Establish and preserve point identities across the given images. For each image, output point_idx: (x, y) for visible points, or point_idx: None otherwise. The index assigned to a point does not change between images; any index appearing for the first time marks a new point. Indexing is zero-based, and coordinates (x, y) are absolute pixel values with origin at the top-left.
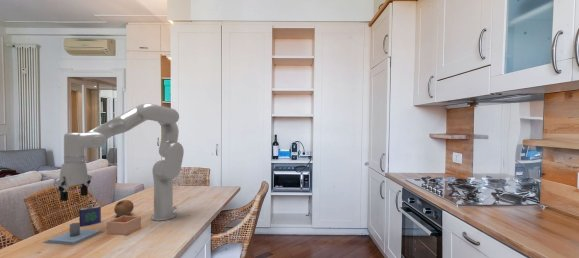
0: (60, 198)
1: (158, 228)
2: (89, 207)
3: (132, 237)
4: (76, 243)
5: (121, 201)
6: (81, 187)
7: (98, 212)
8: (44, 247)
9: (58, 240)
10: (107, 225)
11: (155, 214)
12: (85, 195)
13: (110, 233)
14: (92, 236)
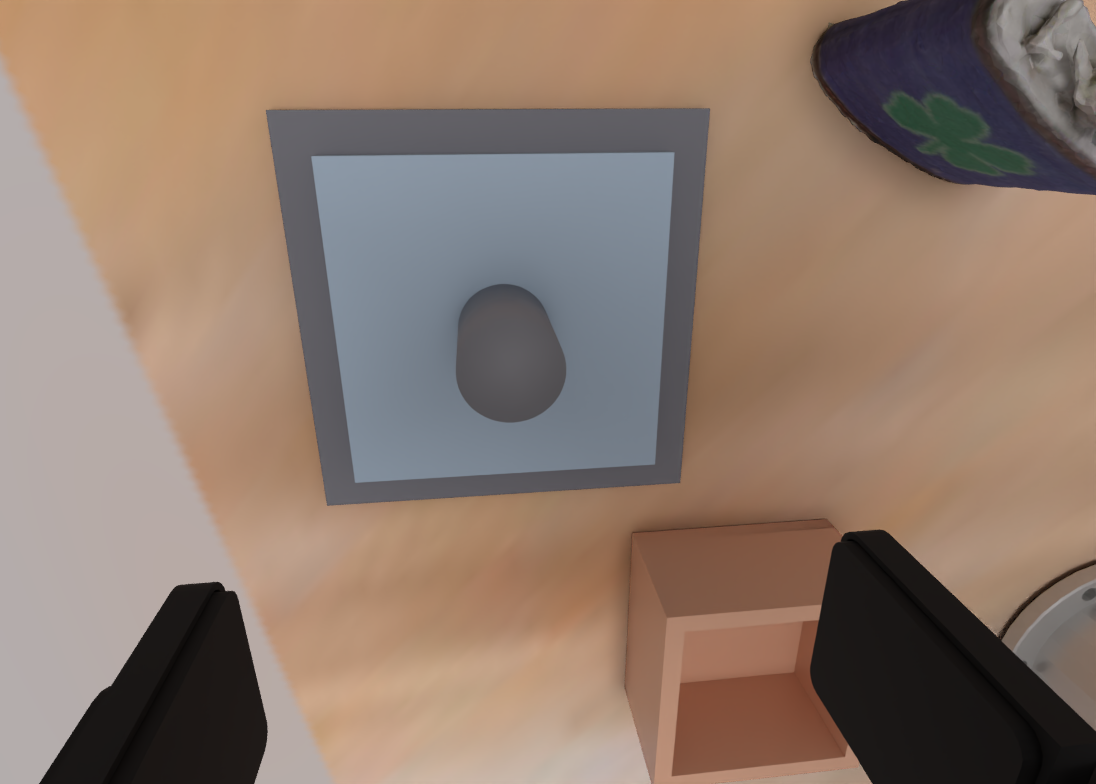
0: (104, 692)
1: None
2: (1082, 112)
3: (612, 740)
4: (370, 492)
5: None
6: (1012, 772)
7: (1060, 187)
8: (221, 243)
9: (332, 304)
10: (656, 598)
11: (1071, 662)
12: (811, 668)
13: (634, 575)
14: (548, 480)
